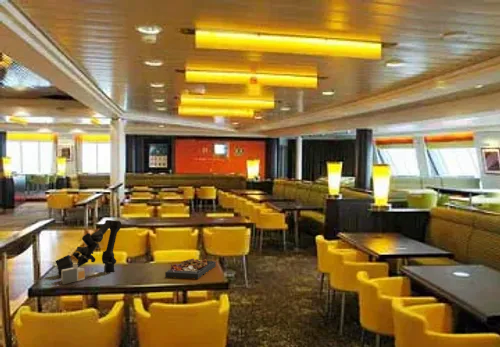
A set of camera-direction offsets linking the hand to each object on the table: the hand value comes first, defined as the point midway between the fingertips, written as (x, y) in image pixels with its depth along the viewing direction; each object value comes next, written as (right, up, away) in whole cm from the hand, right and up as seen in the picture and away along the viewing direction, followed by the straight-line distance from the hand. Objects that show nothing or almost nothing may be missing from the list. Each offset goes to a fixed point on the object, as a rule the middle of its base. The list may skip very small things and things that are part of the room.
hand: (77, 267), depth 346 cm
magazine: (-15, -10, +18) cm, 26 cm away
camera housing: (-4, -10, +5) cm, 12 cm away
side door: (-3, -10, -5) cm, 11 cm away
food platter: (+76, -10, +32) cm, 83 cm away
